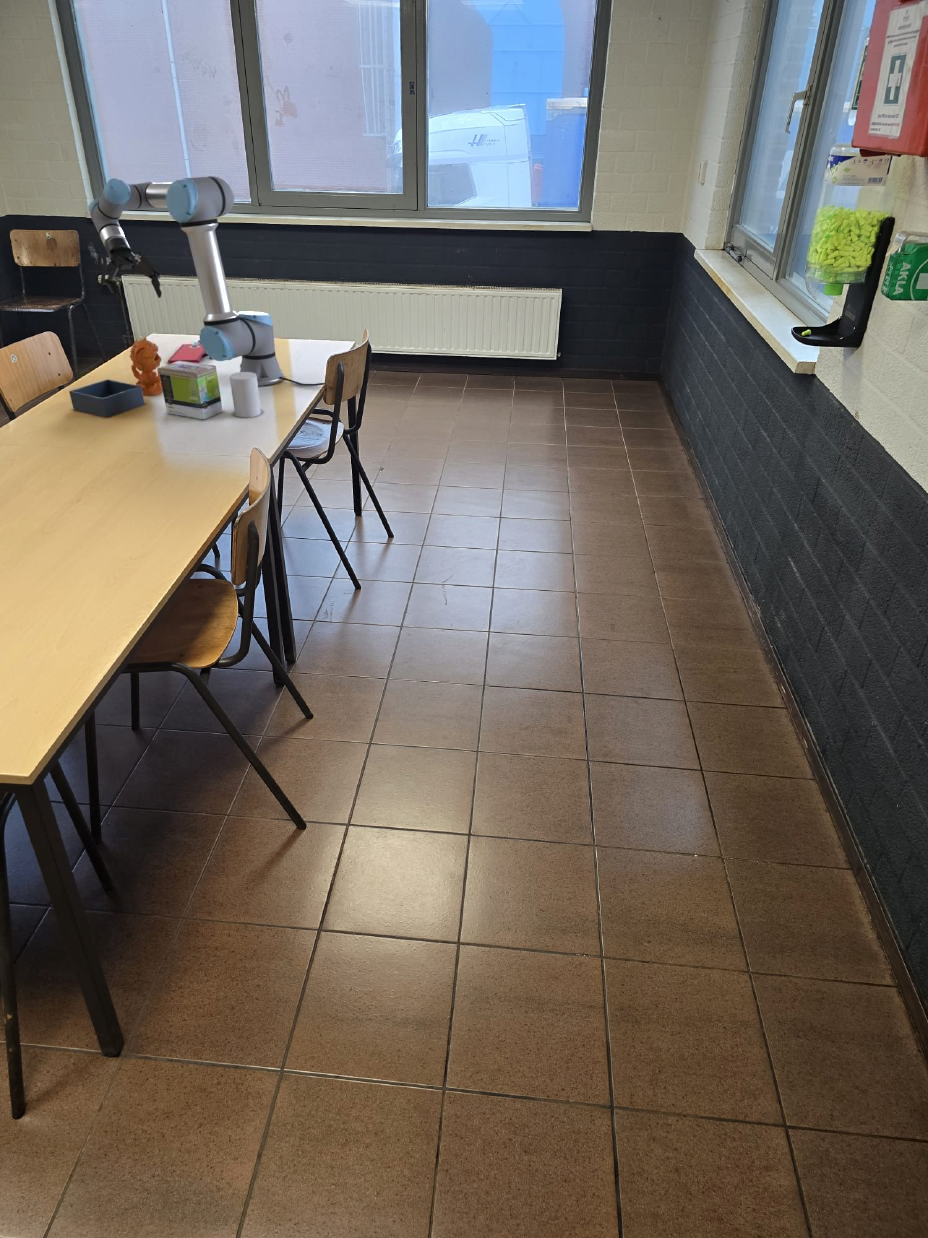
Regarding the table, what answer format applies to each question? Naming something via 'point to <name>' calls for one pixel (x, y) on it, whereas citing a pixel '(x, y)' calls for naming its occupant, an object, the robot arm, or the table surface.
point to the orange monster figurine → (146, 366)
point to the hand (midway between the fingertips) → (140, 297)
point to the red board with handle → (189, 353)
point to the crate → (107, 398)
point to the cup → (245, 394)
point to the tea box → (191, 389)
